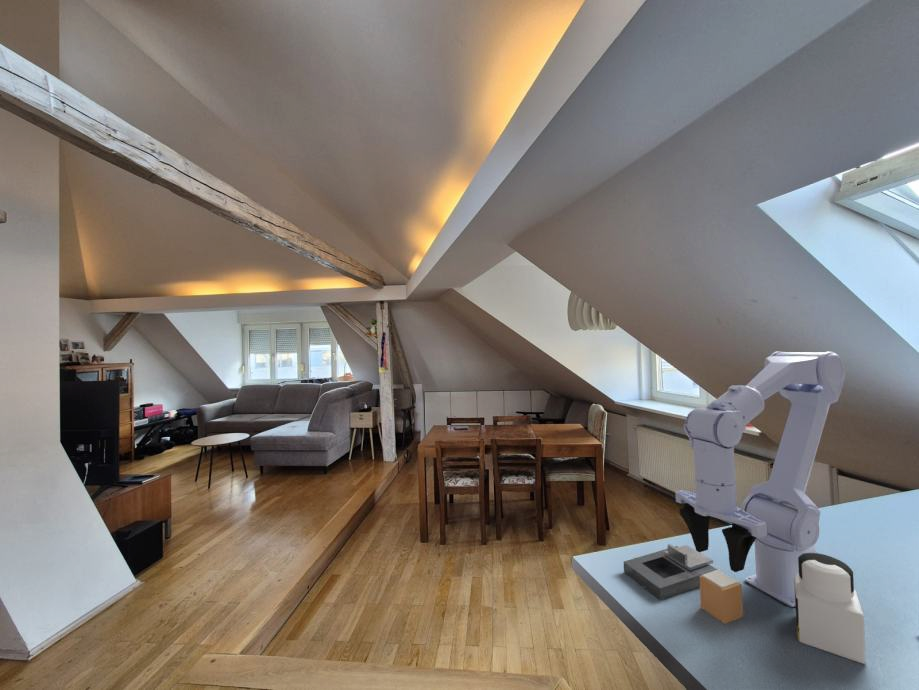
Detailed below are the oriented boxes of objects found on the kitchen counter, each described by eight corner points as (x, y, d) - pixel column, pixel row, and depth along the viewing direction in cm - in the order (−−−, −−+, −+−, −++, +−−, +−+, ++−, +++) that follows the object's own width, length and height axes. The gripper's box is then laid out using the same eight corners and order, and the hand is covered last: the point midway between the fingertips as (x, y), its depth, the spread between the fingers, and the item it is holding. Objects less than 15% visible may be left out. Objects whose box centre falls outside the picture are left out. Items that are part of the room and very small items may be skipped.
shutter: (686, 547, 80) (685, 535, 80) (713, 563, 74) (712, 550, 74) (663, 554, 78) (663, 542, 78) (690, 570, 72) (689, 557, 72)
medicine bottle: (795, 614, 63) (792, 542, 63) (857, 633, 59) (854, 556, 58) (798, 642, 58) (794, 564, 57) (866, 666, 53) (862, 580, 53)
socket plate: (677, 556, 81) (676, 544, 81) (717, 580, 73) (717, 567, 73) (624, 572, 77) (623, 560, 77) (660, 600, 68) (659, 586, 68)
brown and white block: (718, 600, 67) (717, 568, 67) (743, 616, 63) (741, 582, 63) (701, 607, 66) (699, 574, 66) (724, 624, 62) (722, 588, 62)
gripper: (661, 470, 70) (665, 543, 70) (741, 500, 56) (746, 591, 56) (690, 464, 72) (693, 535, 72) (774, 491, 59) (778, 579, 59)
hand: (718, 559), depth 65 cm, fingers open, 6 cm apart
